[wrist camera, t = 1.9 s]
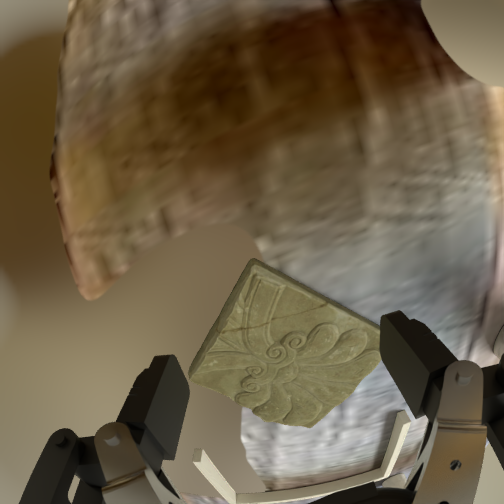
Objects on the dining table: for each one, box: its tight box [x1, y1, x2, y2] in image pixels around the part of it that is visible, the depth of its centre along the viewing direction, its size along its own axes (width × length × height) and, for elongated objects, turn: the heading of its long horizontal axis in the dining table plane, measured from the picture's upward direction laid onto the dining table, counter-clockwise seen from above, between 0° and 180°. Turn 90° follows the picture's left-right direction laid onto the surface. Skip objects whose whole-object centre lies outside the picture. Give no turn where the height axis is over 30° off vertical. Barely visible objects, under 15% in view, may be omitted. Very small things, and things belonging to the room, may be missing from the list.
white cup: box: [382, 473, 407, 489], centre depth 41 cm, size 8×8×10 cm
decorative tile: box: [188, 258, 381, 428], centre depth 30 cm, size 19×20×4 cm
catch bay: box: [192, 410, 411, 504], centre depth 38 cm, size 37×26×3 cm
